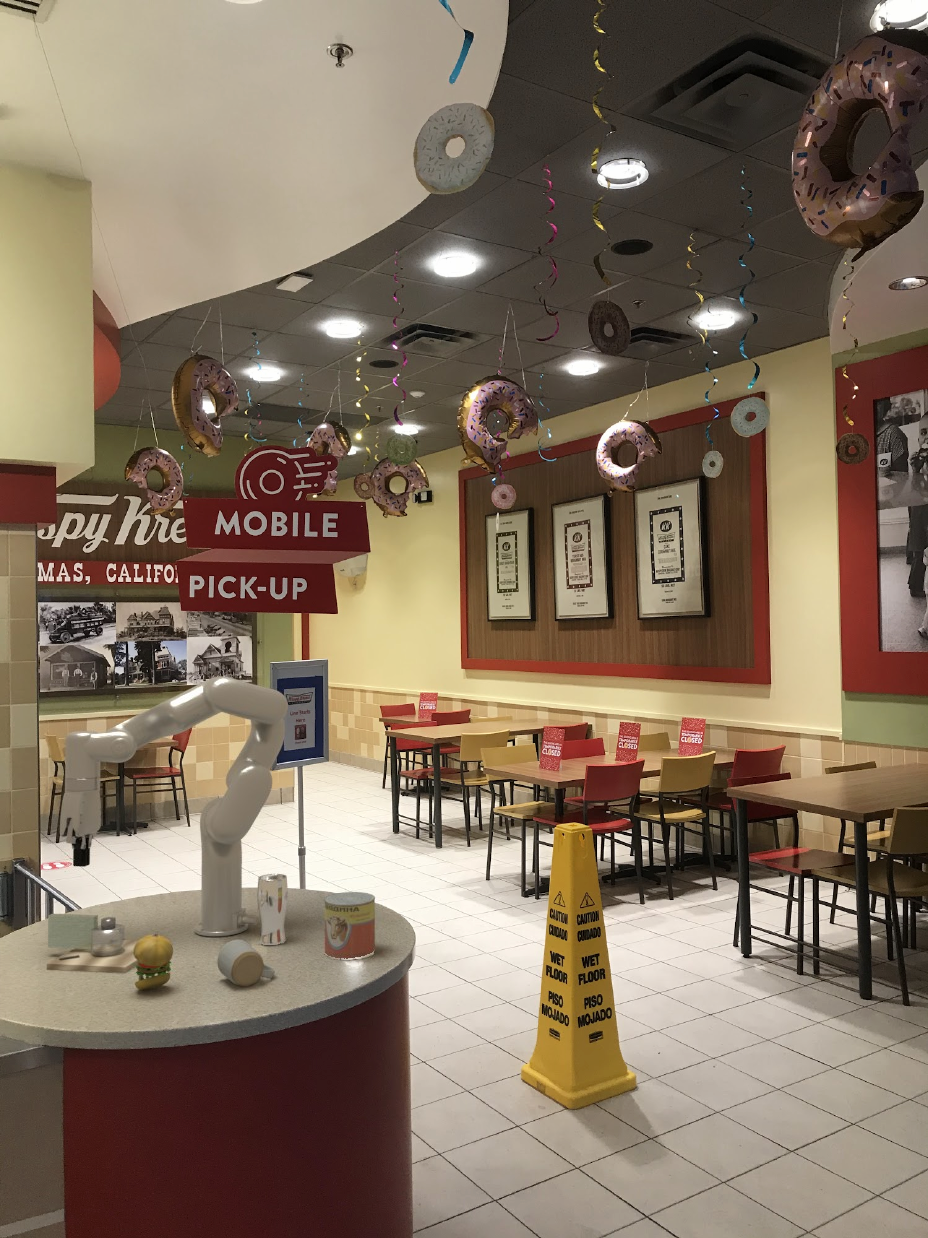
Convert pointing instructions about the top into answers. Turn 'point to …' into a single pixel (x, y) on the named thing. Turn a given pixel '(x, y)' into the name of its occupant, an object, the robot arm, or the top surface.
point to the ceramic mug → (242, 963)
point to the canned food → (349, 924)
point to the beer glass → (272, 907)
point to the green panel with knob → (86, 933)
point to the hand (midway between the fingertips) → (81, 865)
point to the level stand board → (96, 960)
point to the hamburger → (153, 961)
